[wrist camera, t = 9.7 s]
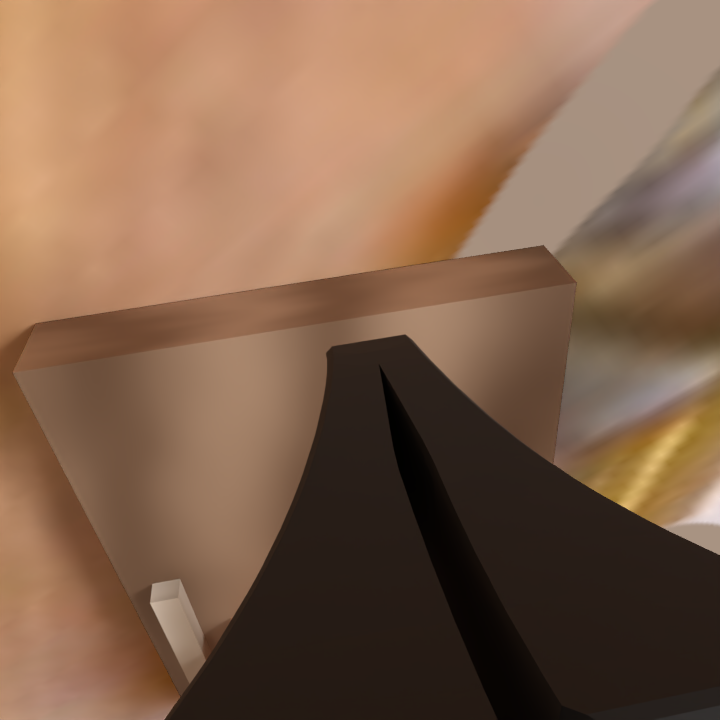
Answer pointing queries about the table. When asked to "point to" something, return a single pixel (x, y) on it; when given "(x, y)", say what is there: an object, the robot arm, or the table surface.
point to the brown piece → (265, 412)
